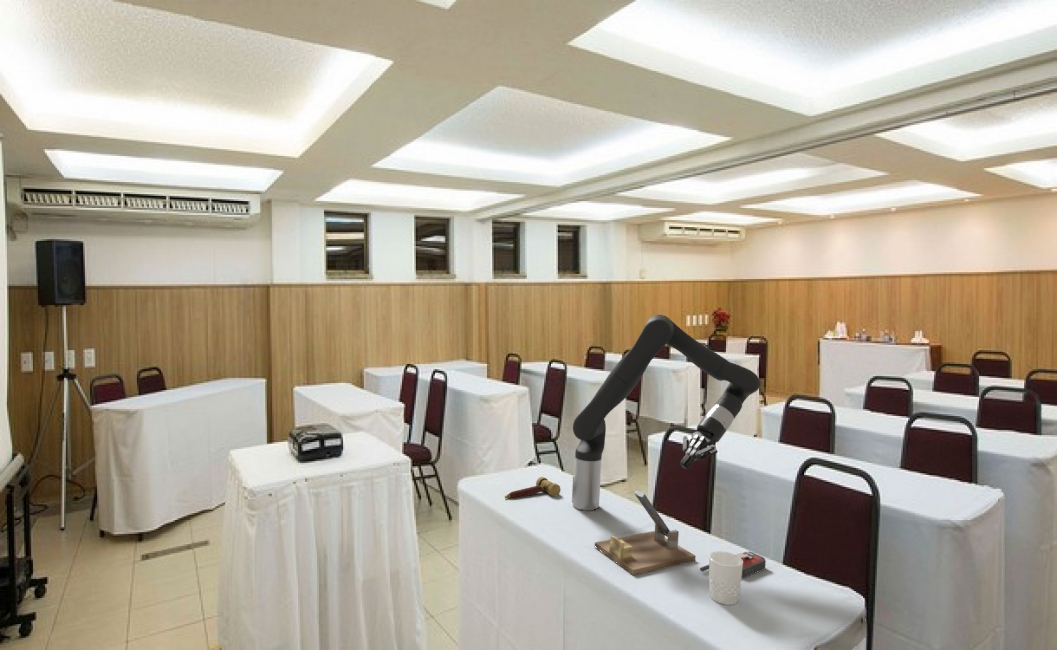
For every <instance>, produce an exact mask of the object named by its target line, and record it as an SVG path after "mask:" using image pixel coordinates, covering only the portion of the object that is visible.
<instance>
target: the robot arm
mask: <svg viewBox="0 0 1057 650" xmlns="http://www.w3.org/2000/svg"><path fill="white" fill-rule="evenodd" d="M665 346H669V347H672V348H673V349H675V350H676V351H678V352H679V353H681V354H682V355H683V356H684V357H686V358H687V360H689V361H690V362H691V363H692V364H694V366H695V367H697V368H698V369H699V370H700V371H703V372H704V373H705V374H707V375H709V376H710V377H712V378H714V379H715V380H717V381H720V382H722V381H723V382H724V381H726V382H728V384H727V386H726V388H725V390H724V391H723V392H722V393H723V394H722V395H721V397H719V399H718V400H717V401H716V402H715V404H714V405H713V406H712V407H711V408H710V409H709V410H708V411H707V412H706V414H705V415H704V417H703V418H702V419H701V420H700V422H699V423H698V425H697V426H696V431H695V432H693V433H692V434H691V436H687V435H684V436H683V437H682V451H683V453H685V455H684V456H683V457H682V459H680V461H679V465H680V466H681V467H682V468H683V469H685V470H687V469H689V468H690V467H691V466H692V465H693V463H694V462H695V461H697V460H699V461H703V460H706V459H707V458H710V457H711V456H713V455H715V454H717V453H718V449H717V448H716V445H717V443H719V441H721V439H722V437H723V436H724V434H725V433H726V432H727V431H728V429H729V428H730V427H731V426H732V423H733V421H734V420H735V419H736V418H737V416H738V415H739V413H740V412H741V409H743V404H744V402H745V401H746V400H747V399H748V397H749V396H751V395H752V394H755V393H756V392H757V391H759V389H760V387H761V380H760V378H759V376H758V374H756V373H755V372H754V371H753V370H750V369H749V368H747V367H744V366H741V365H739V364H737V363H734V362H731V361H729V359H726V358H724V357H723V356H721V355H720V354H718V353H717V352H715V351H713V350H712V349H710V348H709V347H707V346H705V344H702V343H701V342H699V341H697V340H696V339H694V338H693V337H692V336H691V335H689V334H688V333H687V332H686V331H684V330H683V329H681V328H680V326H678V325H677V324H676V323H675V322H674V321H673V320H671V318H670V317H668V316H666V315H663V314H656V315H653V316H651V317H650V318H649V319H648V320H647V321H646V322H645V325H644V326H643V328H642V331H641V332H640V335H639V336H638V338H637V339H636V341H635V343H634V345H632V347H631V349H630V350H629V351H628V352H627V353H626V354H625V355H624V356H623V357H622V358H621V359H620V360H619V361H618V362H617V363H616V364H615V366H613V369H612V370H611V371H610V373H608V375H607V377H606V378H605V380H604V382H602V384H601V386H600V387H599V388H598V390H597V392H596V393H595V395H594V396H593V398H592V399H591V401H590V402H589V403H588V404H587V405H586V406H585V407H584V408H583V410H582V411H581V412H580V413H579V414H578V415H577V416H576V417H575V418H574V421H573V424H572V433H573V435H574V437H575V438H577V439H578V440H579V441H580V442H579V444H578V445H577V446H576V449H575V453H574V455H575V456H574V474H573V475H574V476H572V490H571V491H572V492H571V494H572V495H571V503H572V506H573V507H574V508H575V509H578V510H581V509H582V510H581V511H595V510H594V509H596V510H598V509H599V508H600V497H601V477H602V475H601V473H602V456H603V453H604V450H605V445H606V444H605V441H606V434H607V433H606V428H607V427H606V426H607V425H606V420H605V418H606V417H607V416H608V415H609V413H610V412H611V411H613V410H614V409H615V408H616V407H617V406H619V405H620V404H621V403H622V402H623V401H625V399H626V398H627V397H628V396H629V395H630V394H631V392H632V391H633V389H634V388H636V386H637V385H638V383H639V381H640V380H641V379H642V377H643V375H644V374H645V372H646V369H647V368H648V366H649V364H650V363H651V361H653V359H654V358H655V357H656V356H657V355H658V353H659V352H660V351H661V350H662V349H664V347H665ZM598 507H599V508H598ZM597 508H598V509H597Z"/></svg>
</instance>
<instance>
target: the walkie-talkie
mask: <svg viewBox="0 0 1057 650" xmlns="http://www.w3.org/2000/svg"><path fill="white" fill-rule="evenodd" d="M735 555H736V556H738V557H740V558H741V559H742V560H743V567H742V577H741V579H744V578H746V577H749V576H751V574H752V575H754V574H756V573H758V572H757V571H759V572H761V571H760V570H762V569H764V568H765V569H766V562H767V561H766V559H765V557H763V556H761V555H759V554H757V553H755V552H752V551H744V552H740V553H736V554H735ZM765 569H764V570H765ZM707 570H708V571H709V564H706V565H704V566H702V567H699V571H701V572H704V571H707ZM762 571H763V570H762ZM755 572H756V573H755Z"/></svg>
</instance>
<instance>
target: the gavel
mask: <svg viewBox="0 0 1057 650" xmlns="http://www.w3.org/2000/svg"><path fill="white" fill-rule="evenodd" d="M540 492H546V493H548V495H550V496H551V497H556V496H555V495H557V496H559V495H560V493H561V486H560V485H559V484H558V483H556V482H552V481H550V480H549V479H548V478H546V477H544V476H540V477H538V478H537V480H536V483H535V485H533V486H530V487H526V488H522V489H518V490H514V491H511V492H509V493H507V494H506V495H505V496H504V498H505V499H511V500H512V499H514V500H515V499H518V498H522V497H526V496H531V495H534V494H535V495H536V494H538V493H540Z"/></svg>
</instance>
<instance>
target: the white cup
mask: <svg viewBox="0 0 1057 650" xmlns="http://www.w3.org/2000/svg"><path fill="white" fill-rule="evenodd" d="M736 555H737V554H734V553H732V552H727V551H714V552H711V553H710V554H709V556H708V558H709V559H708V560H709V561H708V565H709V569H708V580H709V581H708V582H709V583H708V585H709V597H710V598H711V600H713V601H715V602H716V603H718V604H721V605H727V606H732V605H737V603H738V602H739V599H740V598H739V596H740V590H741V583H742V578H741V577H742V567H743V560H742V559H741V558H740V557H738V556H736Z"/></svg>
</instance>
